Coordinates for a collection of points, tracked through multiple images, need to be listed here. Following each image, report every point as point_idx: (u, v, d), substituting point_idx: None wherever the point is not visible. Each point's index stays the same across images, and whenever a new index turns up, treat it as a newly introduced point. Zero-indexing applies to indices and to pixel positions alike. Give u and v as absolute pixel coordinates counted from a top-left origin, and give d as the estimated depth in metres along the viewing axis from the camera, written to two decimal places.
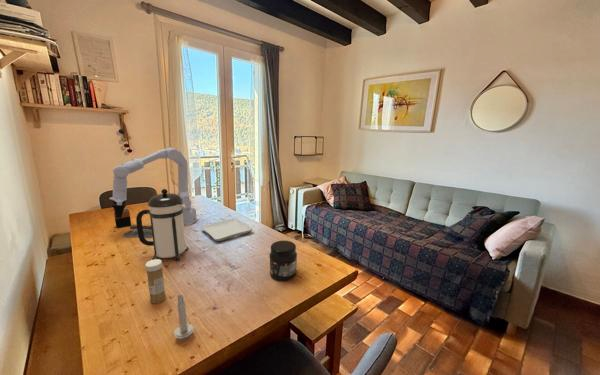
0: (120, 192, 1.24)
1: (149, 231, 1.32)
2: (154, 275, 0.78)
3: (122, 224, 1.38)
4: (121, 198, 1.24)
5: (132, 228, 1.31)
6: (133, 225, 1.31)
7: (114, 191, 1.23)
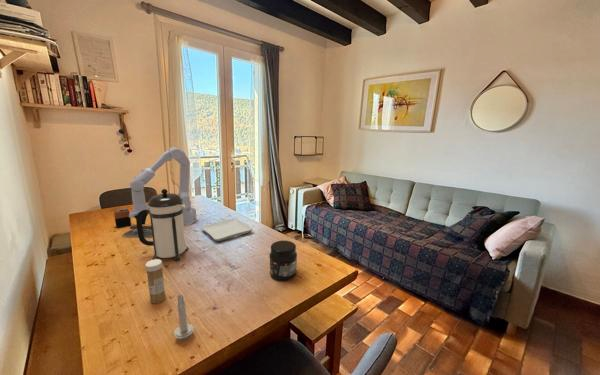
0: (136, 205, 1.30)
1: (149, 231, 1.32)
2: (154, 275, 0.78)
3: (122, 224, 1.38)
4: (138, 210, 1.30)
5: (132, 228, 1.31)
6: (133, 225, 1.31)
7: (133, 203, 1.31)
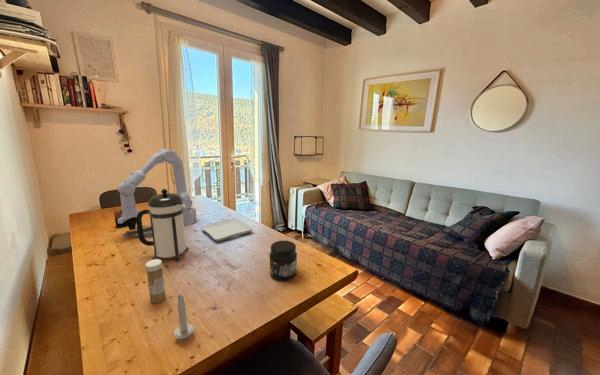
0: (125, 209, 1.22)
1: (149, 231, 1.32)
2: (154, 275, 0.78)
3: (122, 224, 1.38)
4: (127, 215, 1.23)
5: (130, 234, 1.24)
6: (130, 231, 1.24)
7: (122, 208, 1.23)
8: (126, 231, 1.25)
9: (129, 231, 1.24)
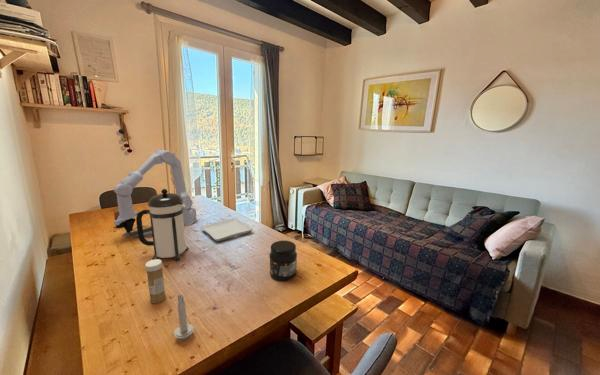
0: (122, 211, 1.20)
1: (149, 231, 1.32)
2: (154, 275, 0.78)
3: None
4: (124, 217, 1.21)
5: (132, 235, 1.23)
6: (132, 232, 1.23)
7: None
8: None
9: (130, 232, 1.23)
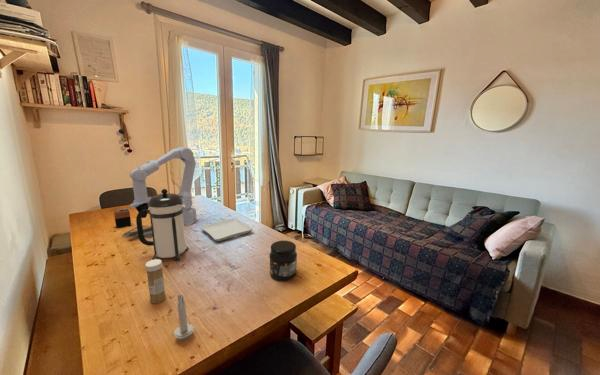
0: (137, 195, 1.25)
1: (149, 231, 1.32)
2: (154, 275, 0.78)
3: (122, 224, 1.38)
4: (139, 201, 1.26)
5: (132, 235, 1.23)
6: (132, 232, 1.23)
7: (134, 194, 1.26)
8: None
9: (130, 232, 1.23)
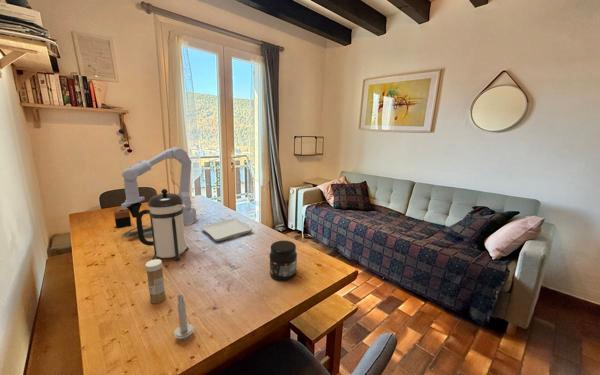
0: (128, 195, 1.26)
1: (149, 231, 1.32)
2: (154, 275, 0.78)
3: (122, 224, 1.38)
4: (130, 201, 1.26)
5: (132, 235, 1.23)
6: (132, 232, 1.23)
7: None
8: None
9: (130, 232, 1.23)
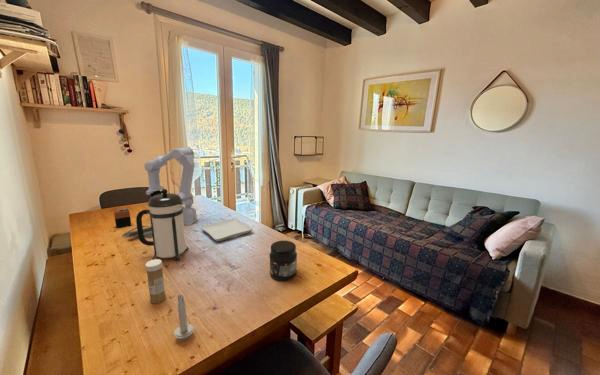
0: (152, 183, 1.47)
1: (149, 231, 1.32)
2: (154, 275, 0.78)
3: (122, 224, 1.38)
4: (153, 188, 1.47)
5: (132, 235, 1.23)
6: (132, 232, 1.23)
7: (149, 183, 1.48)
8: None
9: (130, 232, 1.23)
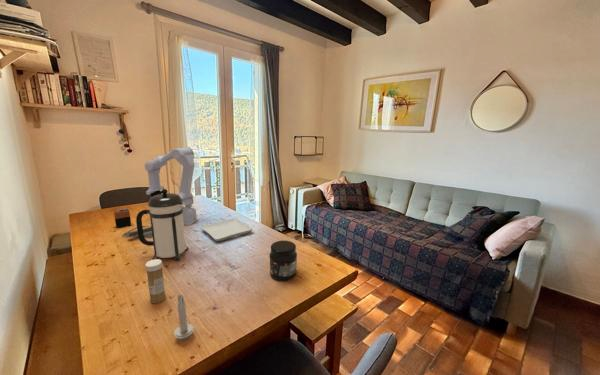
0: (152, 183, 1.47)
1: (149, 231, 1.32)
2: (154, 275, 0.78)
3: (122, 224, 1.38)
4: (153, 188, 1.48)
5: (132, 235, 1.23)
6: (132, 232, 1.23)
7: (149, 183, 1.48)
8: None
9: (130, 232, 1.23)
